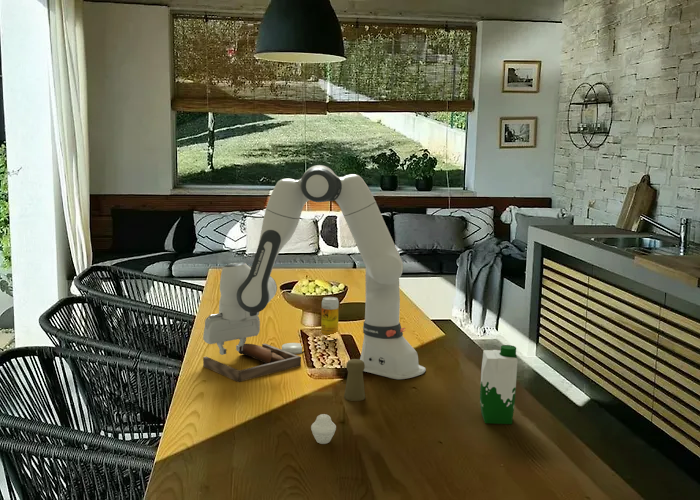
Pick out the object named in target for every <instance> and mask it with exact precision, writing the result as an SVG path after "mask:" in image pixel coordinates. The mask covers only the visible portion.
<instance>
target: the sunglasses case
mask: <svg viewBox="0 0 700 500" xmlns="http://www.w3.org/2000/svg"><path fill="white" fill-rule="evenodd" d="M237 352H238V353H239V354H240V355H243V356H248V357H251V358H253V359H255V360H258V361H260V362H263V363H264V364H268V363H272V362H276V361H280V360H284V358H283V357H281V356H279V355H277V354H275V353H273V351H272V350H270V349H267V348H264V347H262V345H258V344H253V343H245V344H244V345H243V351H237Z"/></svg>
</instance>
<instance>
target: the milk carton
mask: <svg viewBox="0 0 700 500" xmlns="http://www.w3.org/2000/svg"><path fill="white" fill-rule="evenodd" d="M518 362H519V361H518V357H517V347H516V346H514V345H510V344H504V345H501V346H500V349H499V350H498V349H490V350H488V349H484V350H483V353H482V360H481V371H480V372H481V373H480V389H479V392H480V393H479V404H480V412H481V416H482V419H483V422H484V423H485V424H493V425H494V424H495V425H512V424H513V420H514V419H513V418H514V411H515V406H516V405H515V403H516V390H517V374H518V373H517V372H518Z"/></svg>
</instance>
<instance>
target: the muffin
mask: <svg viewBox="0 0 700 500" xmlns="http://www.w3.org/2000/svg"><path fill="white" fill-rule="evenodd" d="M310 429H311V432H312V433H311V434H312V435H313V437H314V439H315V440H316V442H317V443H319V444H321V445H326V444H328V443H330V442H331V440H332V439H333V436H334V435H335V432H336V430H337V425H336V424H335V423H334V422H333V421H332V418H331V416H330V415H328V414H327V413H326V414H325V413H321V414H319V415H317V416H316V419H315V421H314V422H313V423H312V424H311V425H310Z"/></svg>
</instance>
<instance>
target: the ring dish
mask: <svg viewBox="0 0 700 500" xmlns="http://www.w3.org/2000/svg"><path fill="white" fill-rule="evenodd" d="M301 344H302V343H301V342H300V343H299V342H287V343H283V344H282V345H281V350H284V351H287V352H289V353H292V354H295V355H297V354H298V355H299V354H302V346H301Z"/></svg>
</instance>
